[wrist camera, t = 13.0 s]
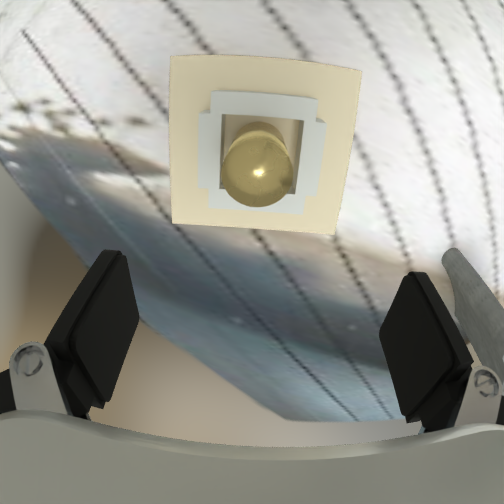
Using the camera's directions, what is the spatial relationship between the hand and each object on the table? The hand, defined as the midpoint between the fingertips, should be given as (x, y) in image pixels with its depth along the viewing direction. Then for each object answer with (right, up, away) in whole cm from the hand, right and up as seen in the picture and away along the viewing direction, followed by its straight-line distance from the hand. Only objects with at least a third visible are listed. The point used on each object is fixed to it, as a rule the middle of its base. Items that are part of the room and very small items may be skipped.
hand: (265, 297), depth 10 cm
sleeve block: (0, +12, +19) cm, 23 cm away
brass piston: (0, +12, +19) cm, 22 cm away
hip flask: (+31, -3, +29) cm, 43 cm away
